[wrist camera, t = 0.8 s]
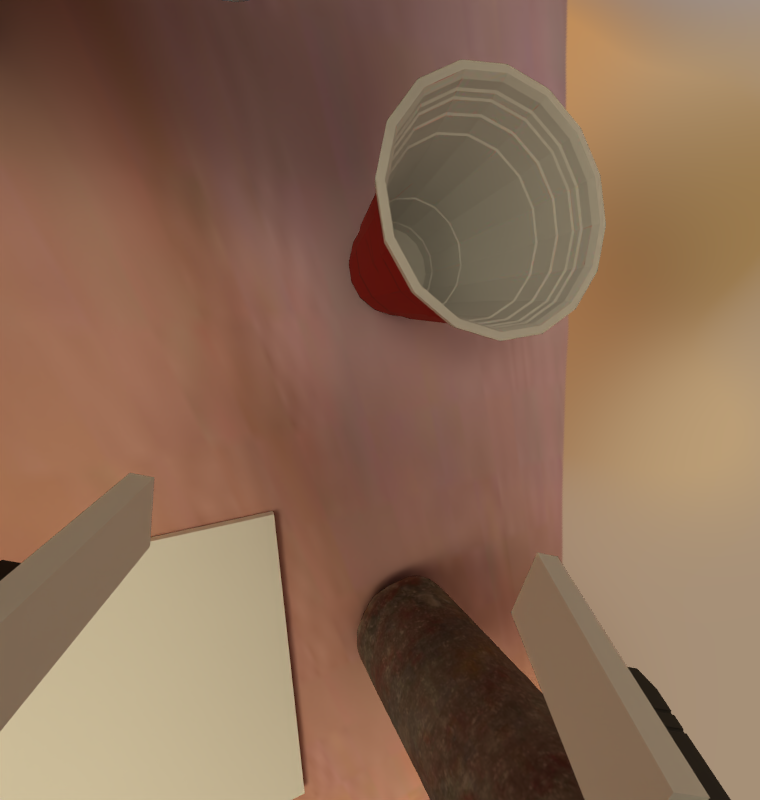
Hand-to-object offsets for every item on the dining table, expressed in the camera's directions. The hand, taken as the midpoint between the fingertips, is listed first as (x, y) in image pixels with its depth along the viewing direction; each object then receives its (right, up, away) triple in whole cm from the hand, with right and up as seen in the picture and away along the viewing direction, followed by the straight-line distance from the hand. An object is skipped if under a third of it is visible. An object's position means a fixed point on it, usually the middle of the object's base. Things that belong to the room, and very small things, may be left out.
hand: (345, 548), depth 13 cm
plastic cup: (+2, +14, +13) cm, 19 cm away
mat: (-12, -13, +10) cm, 20 cm away
